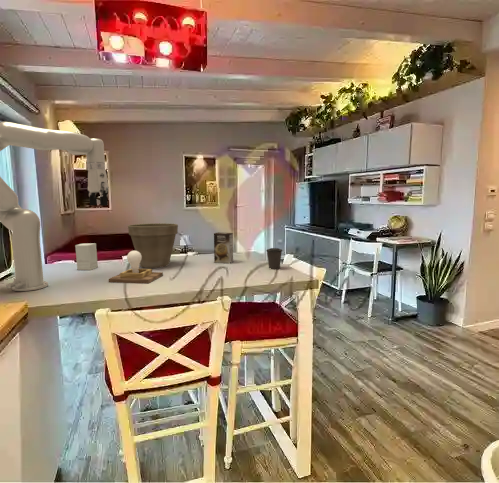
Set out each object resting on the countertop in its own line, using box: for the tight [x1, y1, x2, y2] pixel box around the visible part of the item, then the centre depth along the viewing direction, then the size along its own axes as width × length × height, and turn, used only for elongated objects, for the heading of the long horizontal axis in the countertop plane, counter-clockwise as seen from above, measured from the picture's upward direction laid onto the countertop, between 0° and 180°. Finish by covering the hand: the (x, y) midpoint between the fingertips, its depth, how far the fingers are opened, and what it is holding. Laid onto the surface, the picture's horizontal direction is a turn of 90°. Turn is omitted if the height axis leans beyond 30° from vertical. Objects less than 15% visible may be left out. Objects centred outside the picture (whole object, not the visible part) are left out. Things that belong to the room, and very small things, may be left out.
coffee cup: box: [266, 247, 283, 270], centre depth 178 cm, size 8×8×10 cm
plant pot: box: [127, 222, 179, 269], centre depth 188 cm, size 25×25×22 cm
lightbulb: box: [126, 250, 142, 273], centre depth 159 cm, size 6×6×11 cm
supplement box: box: [74, 242, 98, 271], centre depth 182 cm, size 7×7×13 cm
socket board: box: [108, 268, 164, 284], centre depth 159 cm, size 15×18×4 cm
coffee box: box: [213, 232, 234, 264], centre depth 195 cm, size 9×6×16 cm
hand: (98, 205), depth 164 cm, fingers open, 9 cm apart
